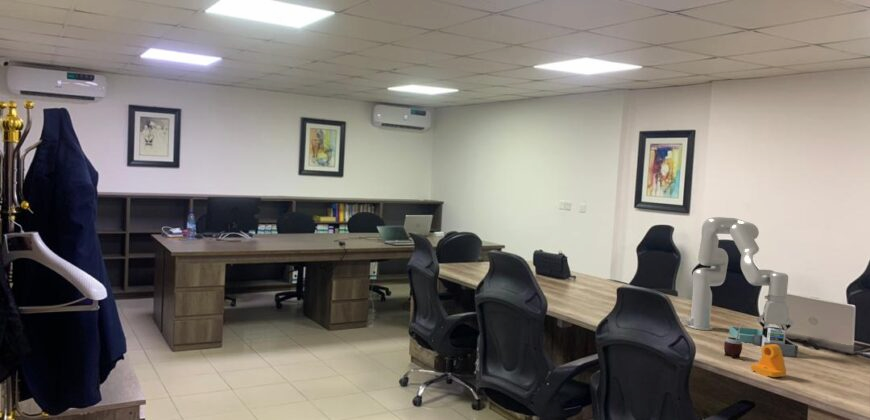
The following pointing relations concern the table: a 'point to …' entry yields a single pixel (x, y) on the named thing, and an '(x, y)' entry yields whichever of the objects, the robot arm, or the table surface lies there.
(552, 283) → the table surface
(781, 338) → the light bulb box
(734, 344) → the mate gourd
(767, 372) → the bracket
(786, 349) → the tray
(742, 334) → the tray
